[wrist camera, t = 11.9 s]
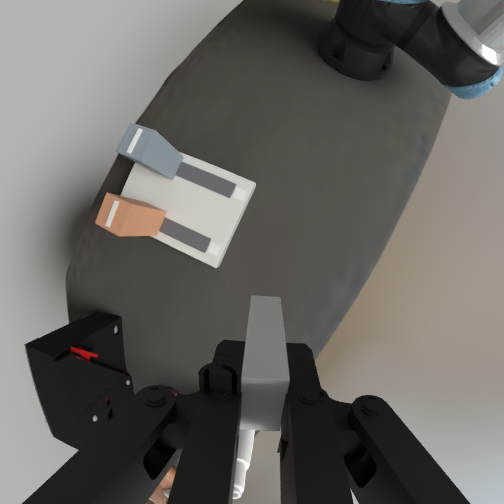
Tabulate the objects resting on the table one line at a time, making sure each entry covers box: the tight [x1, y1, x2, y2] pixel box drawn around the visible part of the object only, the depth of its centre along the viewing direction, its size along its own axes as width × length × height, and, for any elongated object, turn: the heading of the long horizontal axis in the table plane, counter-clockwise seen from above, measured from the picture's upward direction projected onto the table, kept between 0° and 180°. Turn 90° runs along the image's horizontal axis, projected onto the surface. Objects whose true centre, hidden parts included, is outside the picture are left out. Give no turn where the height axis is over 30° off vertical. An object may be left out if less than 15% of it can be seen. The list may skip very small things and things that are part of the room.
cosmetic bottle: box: [233, 429, 255, 499], centre depth 34 cm, size 6×6×22 cm
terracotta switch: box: [95, 193, 167, 236], centre depth 35 cm, size 4×4×12 cm
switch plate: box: [121, 152, 256, 268], centre depth 42 cm, size 20×14×3 cm
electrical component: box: [25, 312, 134, 450], centre depth 36 cm, size 18×10×20 cm, turn 176°
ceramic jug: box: [146, 466, 176, 504], centre depth 40 cm, size 18×14×14 cm
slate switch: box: [116, 123, 184, 180], centre depth 34 cm, size 4×4×12 cm
